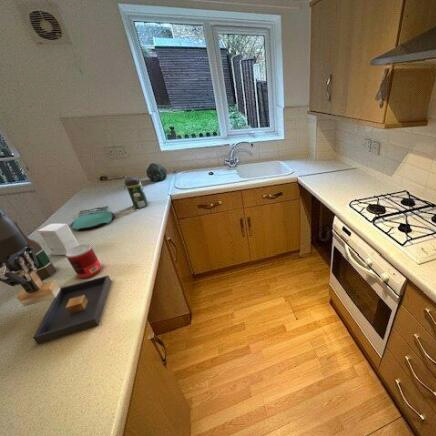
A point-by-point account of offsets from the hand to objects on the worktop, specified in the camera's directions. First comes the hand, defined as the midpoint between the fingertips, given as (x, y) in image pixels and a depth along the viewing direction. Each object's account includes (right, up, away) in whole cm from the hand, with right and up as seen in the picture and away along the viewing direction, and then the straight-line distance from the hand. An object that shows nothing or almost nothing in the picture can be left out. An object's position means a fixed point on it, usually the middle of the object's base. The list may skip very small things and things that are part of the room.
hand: (35, 287), depth 66 cm
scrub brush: (0, -3, +2) cm, 4 cm away
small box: (-32, +4, +44) cm, 54 cm away
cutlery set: (-42, +19, +72) cm, 85 cm away
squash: (-38, +51, +130) cm, 145 cm away
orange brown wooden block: (0, -11, +14) cm, 17 cm away
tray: (0, -11, +14) cm, 18 cm away
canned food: (-10, -3, +30) cm, 32 cm away
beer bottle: (-28, -4, +30) cm, 41 cm away
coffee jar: (-25, +27, +86) cm, 94 cm away
